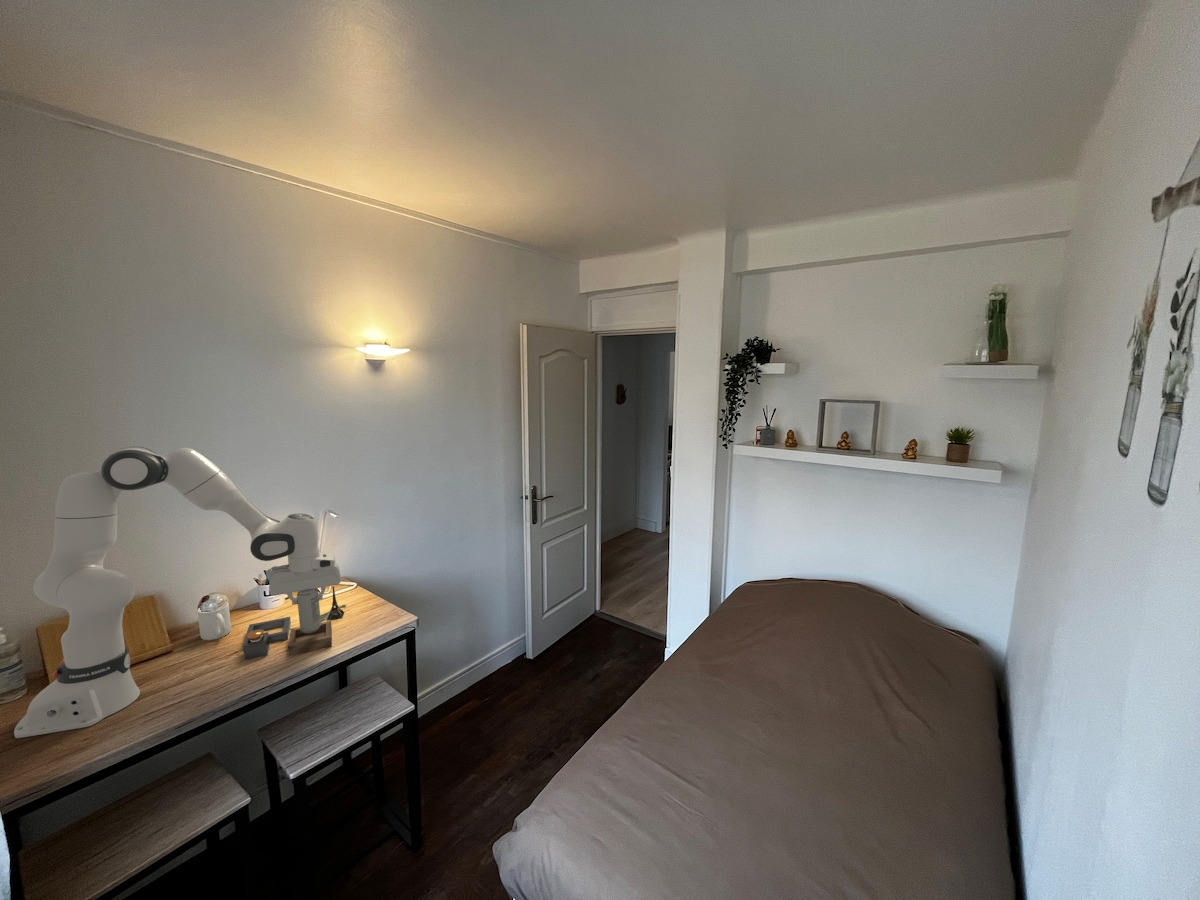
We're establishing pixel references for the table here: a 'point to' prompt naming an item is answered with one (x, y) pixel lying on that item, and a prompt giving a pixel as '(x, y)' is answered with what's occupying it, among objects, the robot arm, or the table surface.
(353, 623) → the table surface
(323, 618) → the eiffel tower figurine
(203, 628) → the mug
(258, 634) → the release plunger
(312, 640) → the brown wooden tray
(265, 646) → the socket block
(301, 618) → the energy drink can
